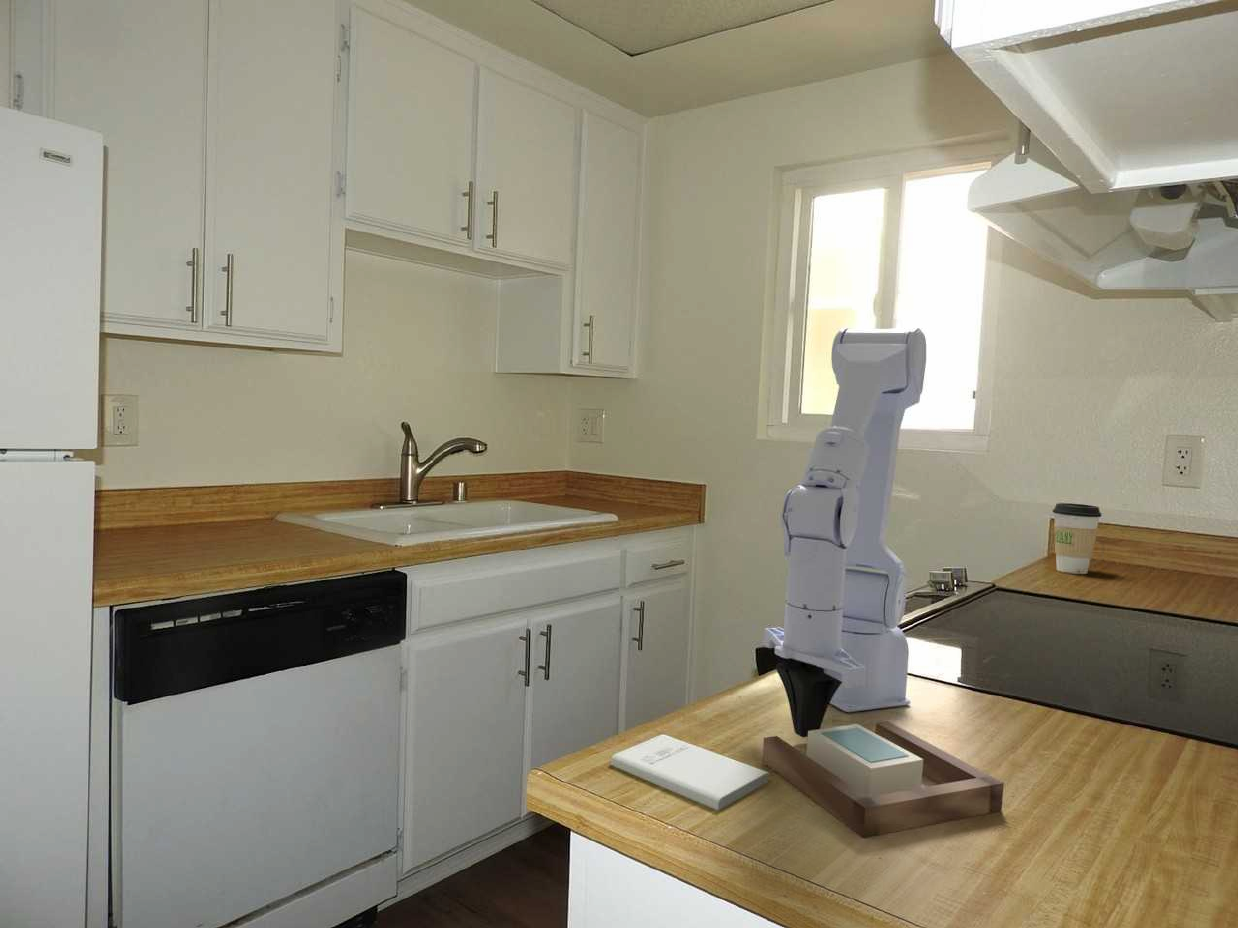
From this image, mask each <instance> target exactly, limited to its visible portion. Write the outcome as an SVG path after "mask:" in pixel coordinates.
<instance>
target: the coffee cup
mask: <svg viewBox="0 0 1238 928" xmlns="http://www.w3.org/2000/svg"><path fill="white" fill-rule="evenodd" d="M1052 513H1053V515H1054V524H1053V530H1054V545H1055V546H1054V550H1055V560H1056V561H1055V562H1056V570H1057V571H1059V572H1063V573H1065V574H1066V573H1068V574H1075V575H1086V574H1088V572H1089V567H1090V563H1091V558H1092V556H1093V552H1094V548H1095V542H1096V538H1097V533H1098V525H1099V520H1100V518H1101V517H1102V513H1101V512H1100V507H1099V506H1096V505H1090V504H1084V503H1083V504H1081V503H1069V502H1068V503H1067V502H1064V503H1063V502H1062V503H1061V502H1058V503H1056V504H1055V507H1054V508H1053V509H1052Z"/></svg>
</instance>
